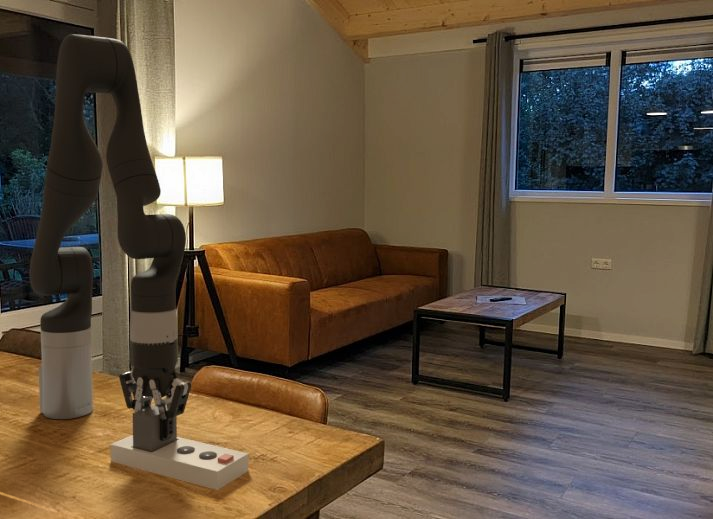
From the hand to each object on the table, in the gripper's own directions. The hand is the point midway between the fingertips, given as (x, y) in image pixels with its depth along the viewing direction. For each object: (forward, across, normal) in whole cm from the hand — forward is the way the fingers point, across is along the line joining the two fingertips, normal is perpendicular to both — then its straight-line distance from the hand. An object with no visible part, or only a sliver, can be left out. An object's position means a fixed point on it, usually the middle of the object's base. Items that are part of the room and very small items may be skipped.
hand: (155, 436), depth 116 cm
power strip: (+4, +5, 0) cm, 6 cm away
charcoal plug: (+3, 0, 0) cm, 3 cm away
